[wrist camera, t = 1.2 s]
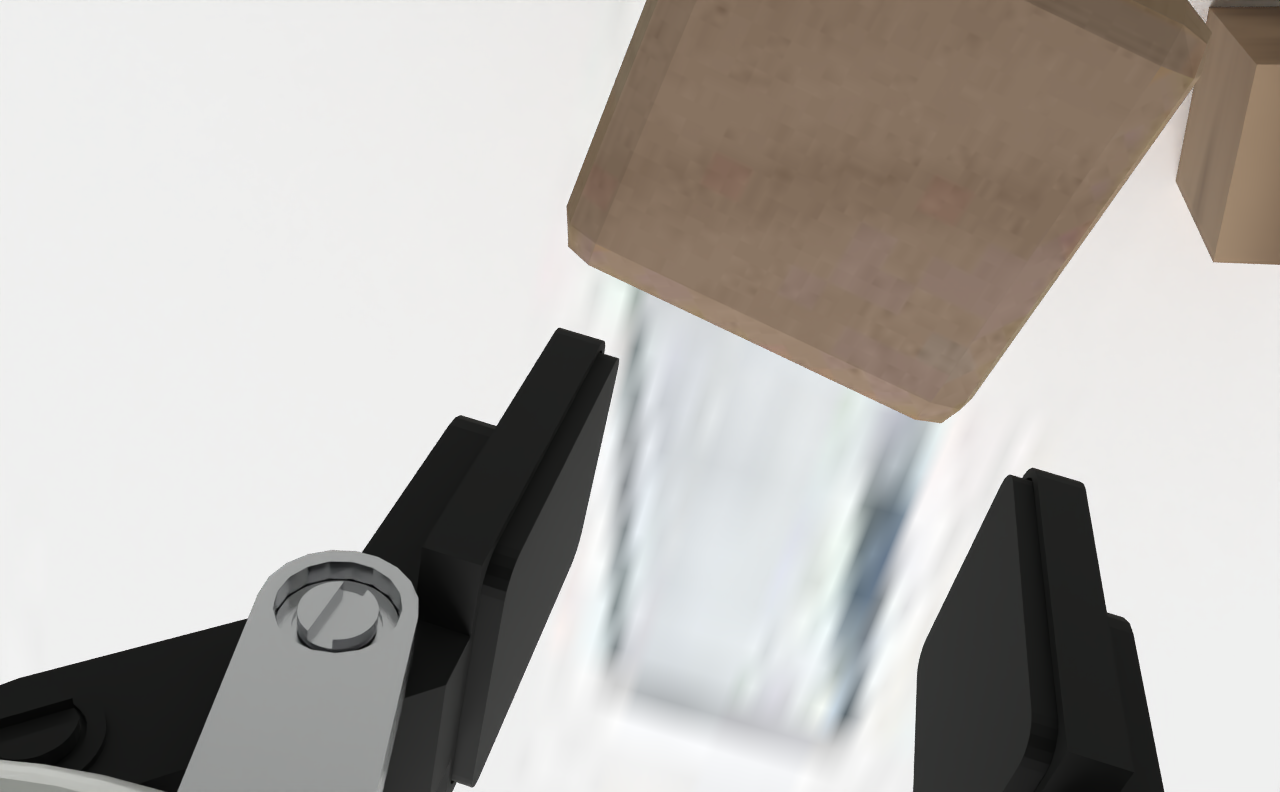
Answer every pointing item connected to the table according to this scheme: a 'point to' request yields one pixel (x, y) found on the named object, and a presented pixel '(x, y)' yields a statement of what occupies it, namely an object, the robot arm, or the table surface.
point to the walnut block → (1236, 138)
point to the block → (875, 170)
